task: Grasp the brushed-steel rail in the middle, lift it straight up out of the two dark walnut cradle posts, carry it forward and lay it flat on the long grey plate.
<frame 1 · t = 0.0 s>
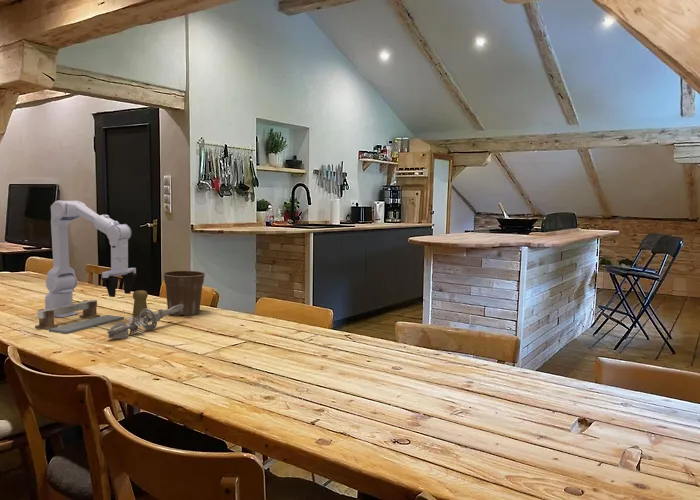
hand: (119, 295, 204), 10 cm above the table, fingers open, 7 cm apart
steel rail: (68, 311, 203), point 4 cm above the table, touching cradle rack
cork: (140, 320, 211), on the table
plant pot: (184, 313, 224), on the table
long grey plate: (88, 324, 200), on the table
spaceship: (148, 331, 194), on the table
cradle rack: (69, 322, 203), on the table
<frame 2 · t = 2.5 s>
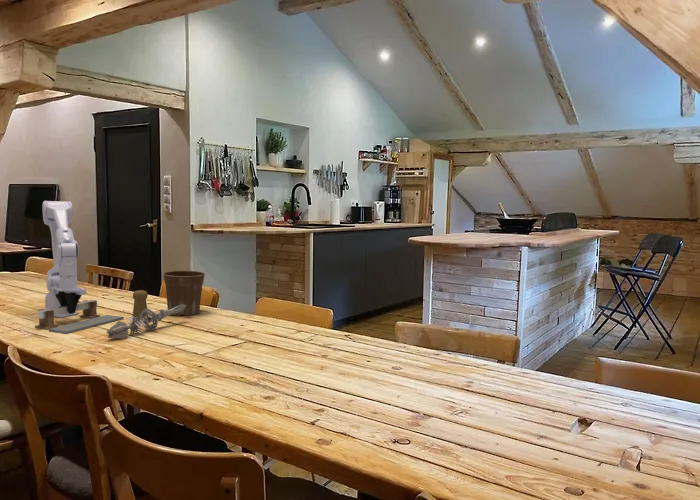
hand: (68, 313, 203), 3 cm above the table, fingers closed on steel rail, 2 cm apart
steel rail: (68, 311, 203), point 4 cm above the table, touching cradle rack, gripper
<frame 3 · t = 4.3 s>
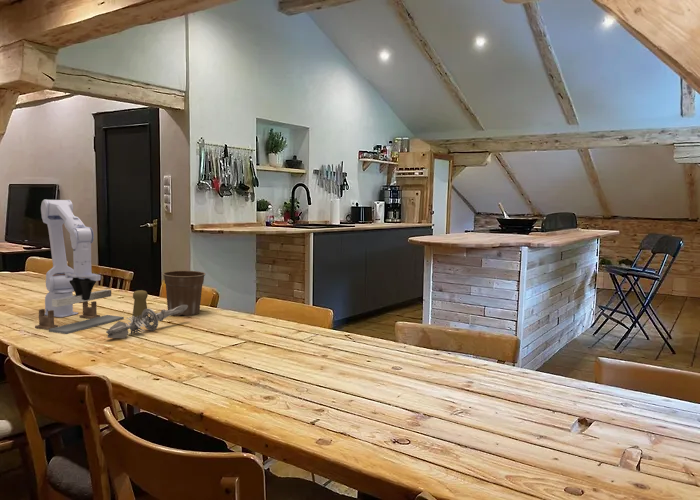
hand: (83, 299, 200), 9 cm above the table, fingers closed on steel rail, 2 cm apart
steel rail: (83, 301, 200), point 8 cm above the table, touching gripper
everything else where it was.
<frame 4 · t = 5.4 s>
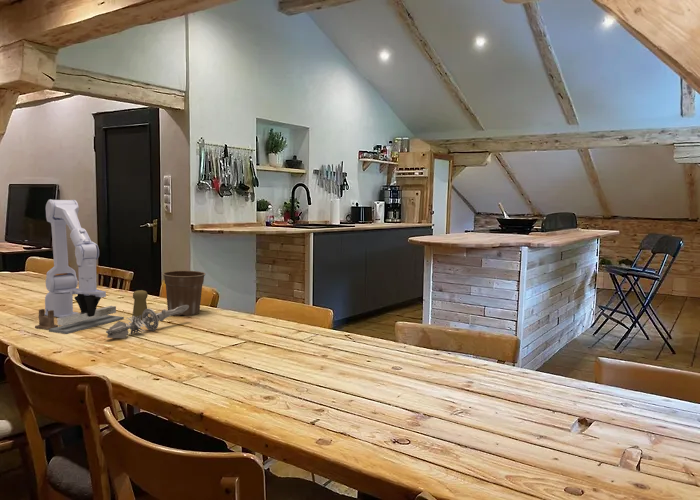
hand: (88, 315, 200), 3 cm above the table, fingers closed on steel rail, 2 cm apart
steel rail: (88, 318, 200), point 2 cm above the table, touching gripper
when the fingers open (2 cm above the table, at t = 6.3 s): steel rail stays where it is, resting on long grey plate.
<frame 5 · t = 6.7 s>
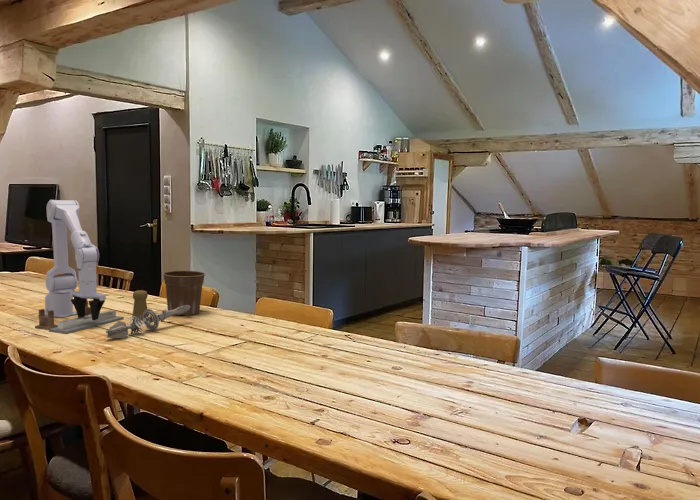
hand: (88, 318, 200), 2 cm above the table, fingers open, 6 cm apart
steel rail: (88, 322, 200), point 1 cm above the table, touching long grey plate
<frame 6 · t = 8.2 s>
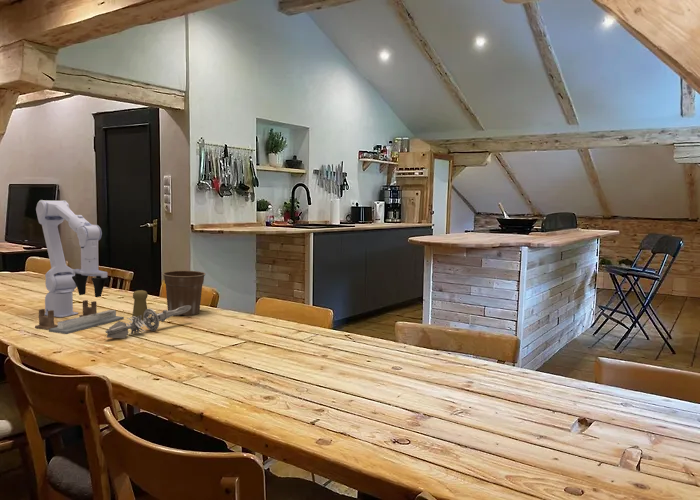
hand: (90, 295, 204), 10 cm above the table, fingers open, 7 cm apart
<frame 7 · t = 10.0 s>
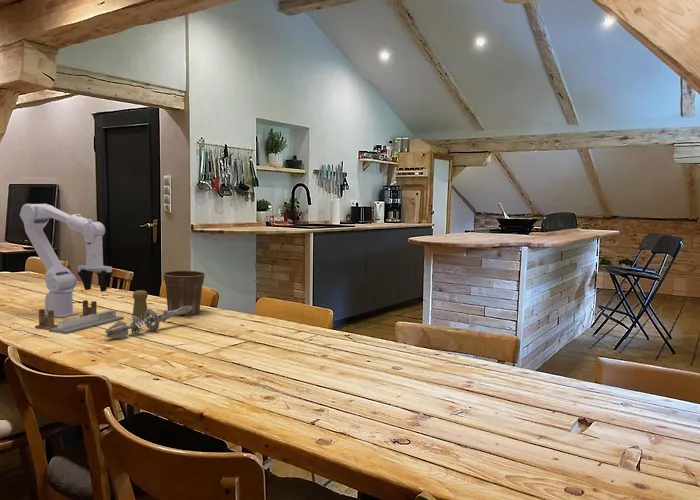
hand: (95, 290, 211), 10 cm above the table, fingers open, 7 cm apart
at the end: steel rail 0.0 cm from the target spot, point 0.8 cm above the table; steel rail touching long grey plate; steel rail tilted 0° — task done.
